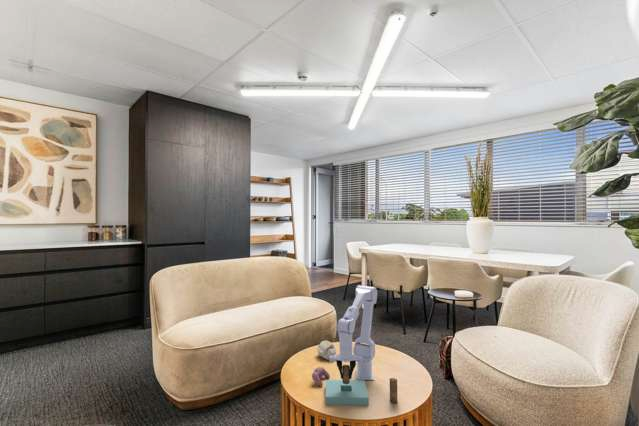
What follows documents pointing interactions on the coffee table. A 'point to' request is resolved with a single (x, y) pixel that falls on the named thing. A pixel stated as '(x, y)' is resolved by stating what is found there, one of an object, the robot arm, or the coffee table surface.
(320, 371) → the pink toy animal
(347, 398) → the block
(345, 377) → the short pin
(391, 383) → the tall pin
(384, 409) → the coffee table surface
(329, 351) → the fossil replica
